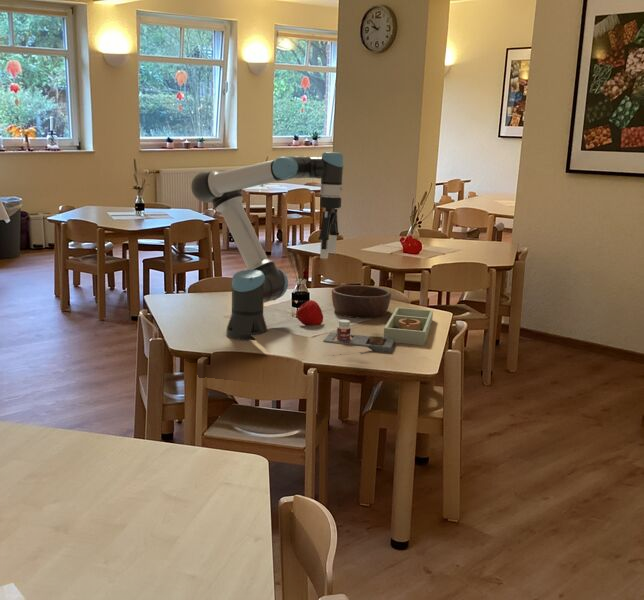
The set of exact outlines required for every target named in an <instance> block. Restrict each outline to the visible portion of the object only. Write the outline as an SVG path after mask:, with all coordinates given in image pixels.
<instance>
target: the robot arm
mask: <svg viewBox="0 0 644 600" xmlns="http://www.w3.org/2000/svg"><path fill="white" fill-rule="evenodd" d="M343 170H344V155H343V153H342V152H338V151H337V152H336V151H323V152H322V154H321V156H320V157H319V156H305V155H295V156H288V155H286V156H279V157H276V159H272V160H268V161H263V162H259V163H254V164H251V165H246V166H241V167H237V168H233V169H228V170H212V171H206V170H205V171H202V172H199V173H198V174H196V175H195V176H194V177H193V179H192V181H191V185H190V187H191V193H192V195H193V196H194V198H195V199H196V200H197V201H200V202H202V203H207V204H211V203H212V206H213V208H214V210H215V211H216V212H218V213H221V215H222V217H223V220H224V222H225V224H226V226H227V228H228V230H229V232H230V234H231V237H232V238H233V240H234V243H235V244H236V247H237V249H238V251H239V253H240V255H241V257H242V259H243V261H244V264H245V265H246V268H247V269H245V270H240V271H237V272H236V273H234V274H233V276H232V282H231V315H230V318H229V320H228V324H227V325H226V332H225V335H226V336H227V337H228V338H231V339H235V340H236V339H237V340H246V341H249V340H250V341H251V340H252V341H253V340H256V339H255V337H254V336H258V335H262V334H266V333H267V332H268V330H269V329H268V326H267V323H266V319H265V315H264V308H265V307H264V304H265V303H267V302H268V303H269V302H271V301H276V300H278V299H280V298H282V297H283V296H284V295H285V294H286V292H287V290H288V287H289V280H288V277H287V276H288V275H287V274H286V273H285V271H283V270H282V269H280V268H278V267H277V266H276V263H275V261H274V260H272V259H269V258H268V256H267V254H266V252H265V249H264V247H263V246H262V244H261V242H260V241H261V240H260V239H259V237H258V236H257V234H256V230H255V228H254V227H253V225H252V223H251V220H250V219H249V217H248V215H247V211H246V210H245V207H244V206H243V204H242V203H243V201H244V200H243V199H244V197H243V190H244V189H249V188H253V187H256V186H257V187H259V186H261V185H262V186H263V185H266V184H267V185H268V184H271V183H276V182H282V181H286V180H291V179H319V180H320V193H319V195H320V198H319V207H320V208H324V209H325V210H323V211H322V218H321V219H322V220H321V225H320V226H321V227H320V233H319V237H318V240H320V254H319V256H320V257H319V258H320V259H324V260H325V259H327V260H328V259H329V254H336V253H337V239H338V238H337V236H339V235H340V232H339V225H338V222H339V221H338V209H341V207H342V197H341V196H342V191H344V187H343Z"/></svg>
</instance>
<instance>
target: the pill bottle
mask: <svg viewBox="0 0 644 600" xmlns="http://www.w3.org/2000/svg"><path fill="white" fill-rule="evenodd" d="M350 325H351V320H349V319H339V320H338V326H337V327H336V328H337V329H336V330H337V331H336V333H337V335H336V340H337V341H343V342H349V341H351V336H350V334H351V328H352V327H351V326H350Z"/></svg>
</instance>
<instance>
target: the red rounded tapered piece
mask: <svg viewBox="0 0 644 600" xmlns="http://www.w3.org/2000/svg"><path fill="white" fill-rule="evenodd" d="M296 318H297V320H298V321H299V322H300V323H301V324H302V325H304V326H306V327H307V326H319V325H320V326H321V324H323V322H324V321H323V320H324V315H323V312H322V308H321V307H320V305H319V304H318V302H317V301H316V300H310V299H309V300H308V301H305V302H304V303H303V302H302V303H301V305H300V306H299V308H298V309H297V310H296Z"/></svg>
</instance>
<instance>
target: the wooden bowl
mask: <svg viewBox="0 0 644 600" xmlns="http://www.w3.org/2000/svg"><path fill="white" fill-rule="evenodd" d="M391 297H392V292H391V291H390V290H388V289H386V288H382V287H379V286H378V287H377V286H372V285H371V286H370V285H362V284H360V285H358V284H357V285H356V284H352V285H351V284H350V285H348V284H347V285H339V286H335V287H333V288H332V290H331V300H332V305H333V308H334V311H335V312H336V313H337V314H339V315H341V314H342V315H341V316H344V315H346V316H345V317H348V316H351V317H350V318H355V317H359V318H358V319H374V318H380V317H383V316H385V314H386V313H387V311H388V309H389V307H390V302H391V299H392V298H391Z"/></svg>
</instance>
